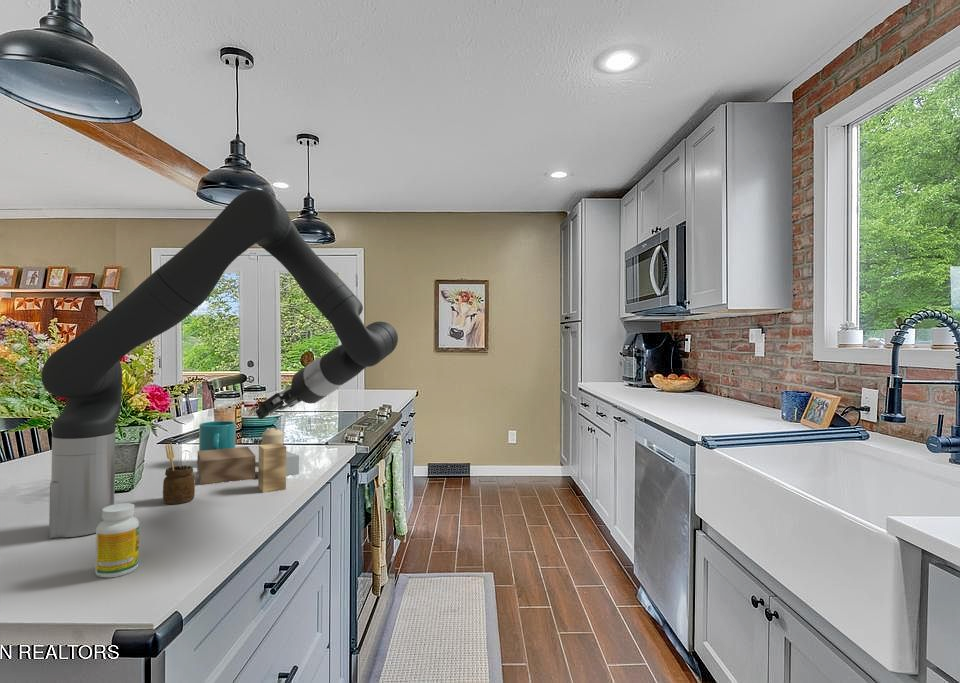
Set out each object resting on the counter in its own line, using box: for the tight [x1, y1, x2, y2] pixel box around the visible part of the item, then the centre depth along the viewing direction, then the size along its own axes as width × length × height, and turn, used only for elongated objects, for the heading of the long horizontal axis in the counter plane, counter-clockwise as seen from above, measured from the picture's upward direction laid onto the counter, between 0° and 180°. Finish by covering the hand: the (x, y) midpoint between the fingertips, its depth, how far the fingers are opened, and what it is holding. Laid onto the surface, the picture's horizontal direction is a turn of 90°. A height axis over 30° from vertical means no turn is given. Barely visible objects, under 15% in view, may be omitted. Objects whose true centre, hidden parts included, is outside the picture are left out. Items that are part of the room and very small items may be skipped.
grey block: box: [286, 450, 300, 477], centre depth 137 cm, size 7×7×5 cm
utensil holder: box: [162, 442, 196, 505], centre depth 113 cm, size 6×6×12 cm
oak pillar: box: [257, 443, 287, 494], centre depth 123 cm, size 5×5×10 cm
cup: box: [198, 420, 237, 451], centre depth 145 cm, size 9×12×11 cm
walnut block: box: [196, 446, 256, 486], centre depth 134 cm, size 12×13×6 cm
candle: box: [261, 427, 284, 445], centre depth 147 cm, size 6×6×10 cm
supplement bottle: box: [94, 502, 140, 579], centre depth 79 cm, size 5×5×10 cm
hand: (273, 409), depth 116 cm, fingers open, 8 cm apart
